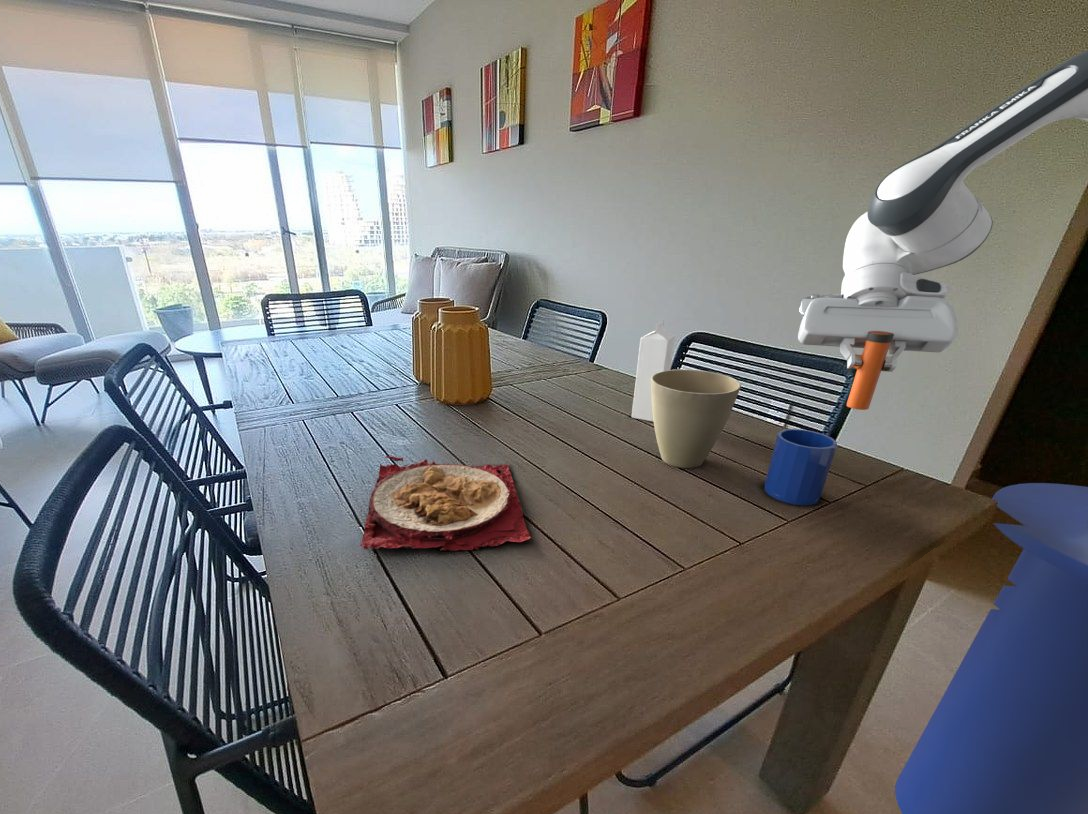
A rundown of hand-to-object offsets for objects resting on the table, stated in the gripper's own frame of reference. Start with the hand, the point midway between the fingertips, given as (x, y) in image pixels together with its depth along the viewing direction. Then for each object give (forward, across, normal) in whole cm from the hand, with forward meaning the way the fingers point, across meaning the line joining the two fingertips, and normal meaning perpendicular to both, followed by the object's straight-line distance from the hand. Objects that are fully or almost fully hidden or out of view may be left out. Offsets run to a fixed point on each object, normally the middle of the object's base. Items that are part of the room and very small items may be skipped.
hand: (871, 368), depth 75 cm
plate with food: (+37, -60, -8) cm, 71 cm away
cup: (+20, -8, +9) cm, 23 cm away
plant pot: (+15, -25, +14) cm, 32 cm away
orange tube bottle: (+4, 0, +5) cm, 7 cm away
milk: (-1, -34, +30) cm, 45 cm away
